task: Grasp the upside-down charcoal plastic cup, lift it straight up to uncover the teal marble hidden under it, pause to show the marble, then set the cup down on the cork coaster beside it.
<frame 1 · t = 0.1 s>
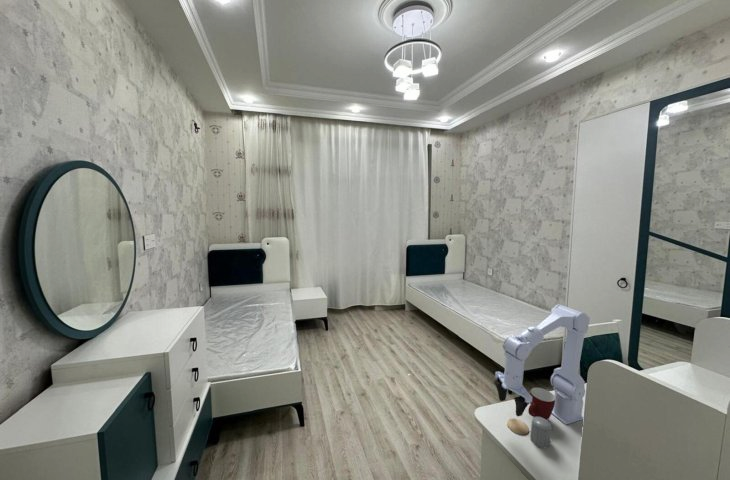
hand: (510, 407, 102), 10 cm above the table, tool pointing down, fingers open, 7 cm apart
coaster: (517, 427, 106), on the table
mug: (538, 419, 110), on the table
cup: (539, 440, 100), on the table
marble: (540, 436, 100), in the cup
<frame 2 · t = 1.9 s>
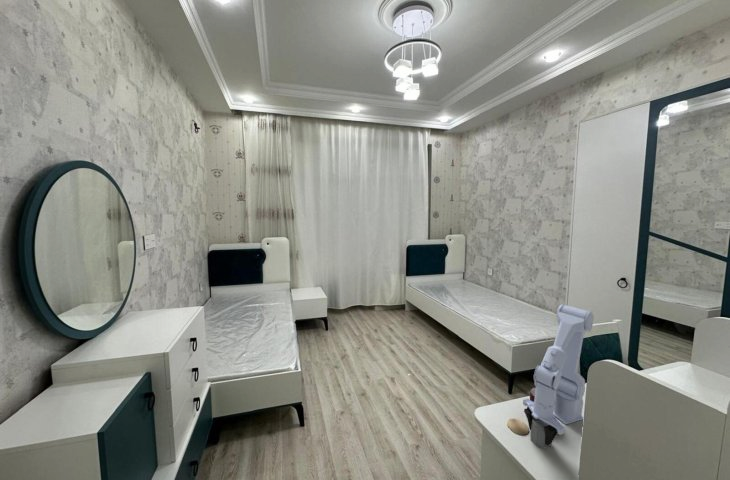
hand: (540, 436, 100), 2 cm above the table, tool pointing down, fingers closed on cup, 6 cm apart
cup: (539, 440, 100), on the table, touching gripper
everything else where it was.
when the fingers open (4 cm above the table, at t = 6.3 s): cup drops 1 cm, resting on coaster.
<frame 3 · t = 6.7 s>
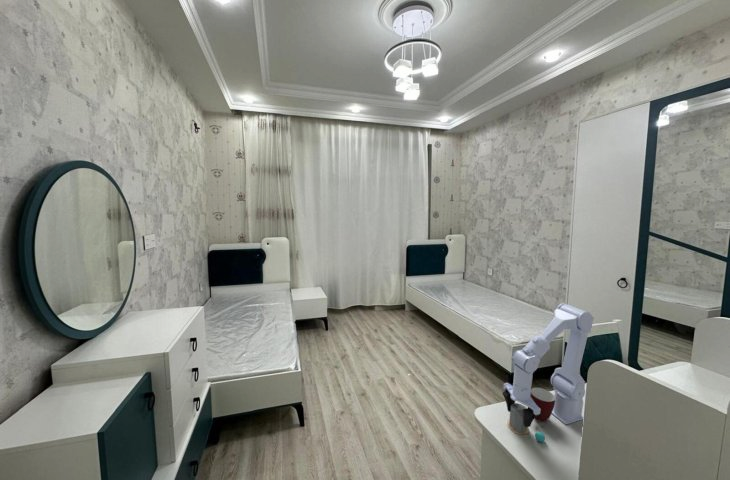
hand: (518, 418, 105), 4 cm above the table, tool pointing down, fingers open, 7 cm apart
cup: (517, 425, 106), resting on coaster
everything else where it was.
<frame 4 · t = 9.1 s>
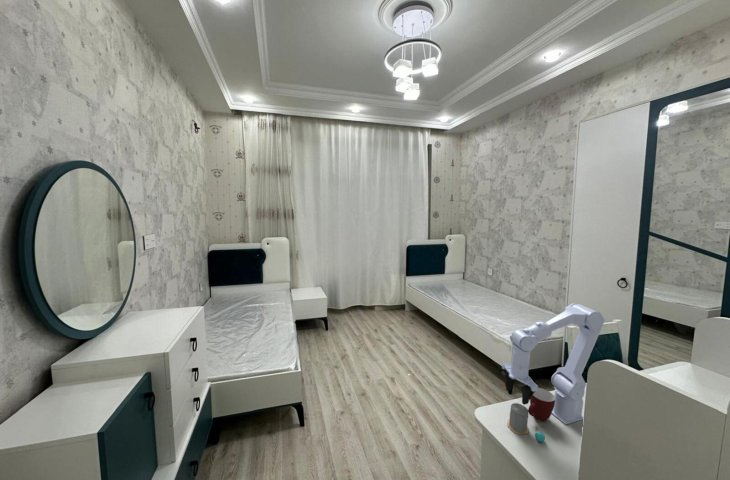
hand: (516, 396, 108), 9 cm above the table, tool pointing down, fingers open, 7 cm apart
nothing on the table moved.
at the end: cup 0.0 cm off-centre on the coaster, point 0.5 cm above the coaster's base; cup tilted 0° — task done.
